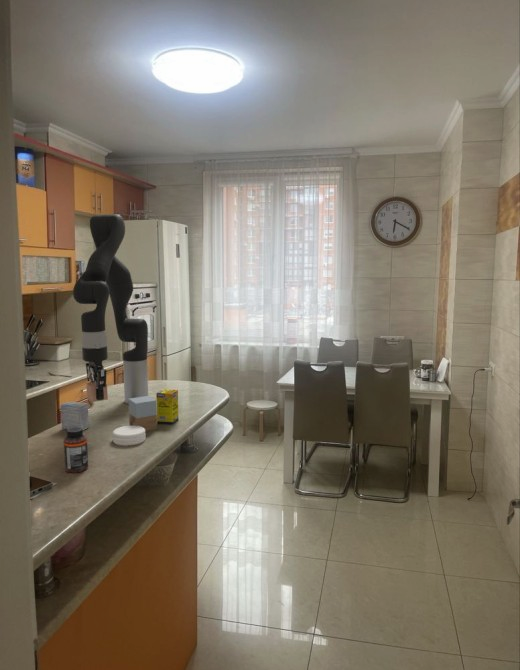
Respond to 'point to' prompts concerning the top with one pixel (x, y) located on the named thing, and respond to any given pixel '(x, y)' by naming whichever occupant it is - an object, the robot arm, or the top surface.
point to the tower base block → (144, 422)
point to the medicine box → (74, 415)
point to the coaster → (129, 435)
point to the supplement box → (167, 406)
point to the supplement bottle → (75, 450)
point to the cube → (92, 392)
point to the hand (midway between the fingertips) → (97, 397)
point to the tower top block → (142, 406)
